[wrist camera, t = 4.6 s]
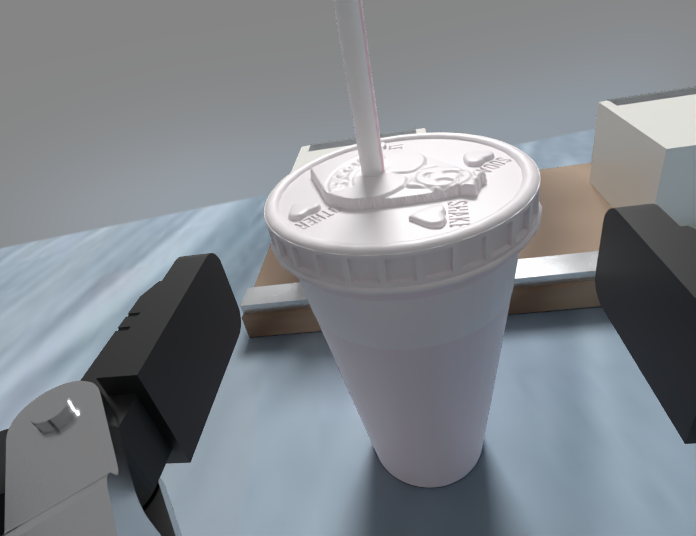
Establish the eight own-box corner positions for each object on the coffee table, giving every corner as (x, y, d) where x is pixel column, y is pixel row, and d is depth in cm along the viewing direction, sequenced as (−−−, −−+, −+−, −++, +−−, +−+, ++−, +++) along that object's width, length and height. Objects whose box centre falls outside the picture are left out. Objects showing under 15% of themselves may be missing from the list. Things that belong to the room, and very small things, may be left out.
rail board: (249, 337, 22) (209, 234, 19) (290, 218, 32) (269, 138, 29) (934, 276, 18) (1026, 133, 15) (738, 161, 28) (769, 61, 25)
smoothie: (386, 351, 20) (318, -33, 12) (545, 396, 17) (590, -90, 9) (301, 480, 15) (114, 9, 8) (494, 574, 12) (497, -71, 5)
